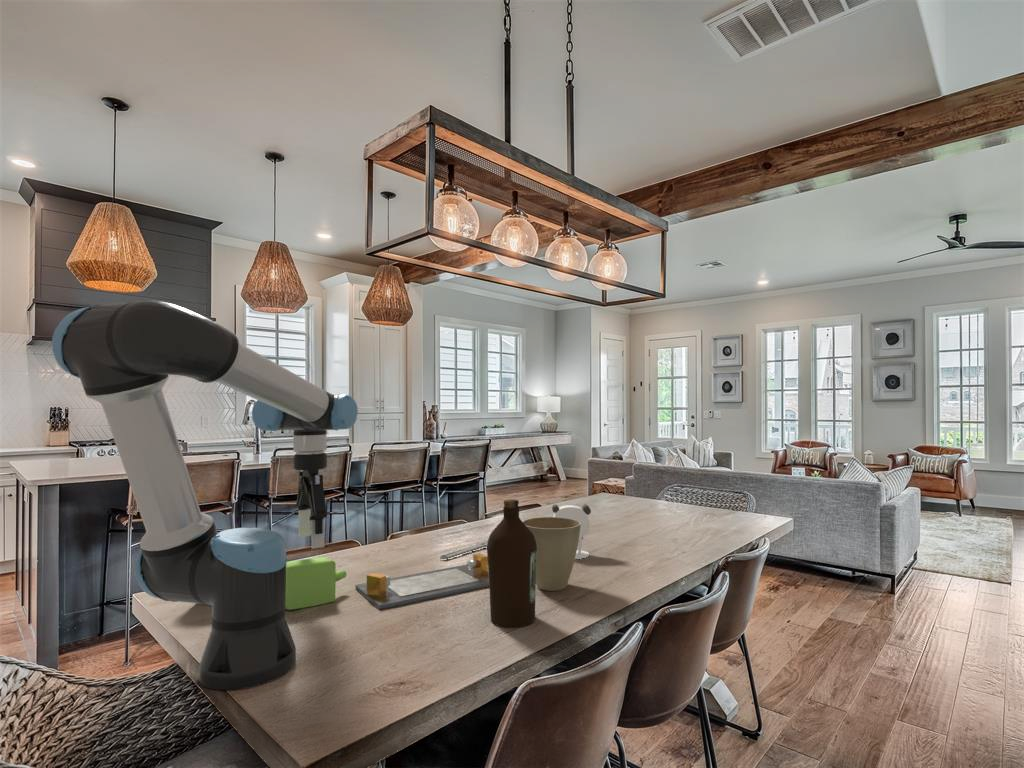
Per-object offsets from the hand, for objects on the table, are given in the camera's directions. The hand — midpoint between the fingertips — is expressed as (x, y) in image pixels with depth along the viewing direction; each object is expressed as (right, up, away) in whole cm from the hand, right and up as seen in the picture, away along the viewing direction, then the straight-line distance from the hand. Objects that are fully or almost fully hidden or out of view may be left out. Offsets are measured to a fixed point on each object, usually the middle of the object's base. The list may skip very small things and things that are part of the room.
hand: (311, 541), depth 132 cm
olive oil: (+48, -12, -15) cm, 52 cm away
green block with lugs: (0, -14, -1) cm, 14 cm away
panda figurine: (+66, -15, +37) cm, 77 cm away
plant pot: (+58, -13, +6) cm, 60 cm away
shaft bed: (+27, -14, +8) cm, 32 cm away
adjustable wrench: (+34, -16, +43) cm, 57 cm away
